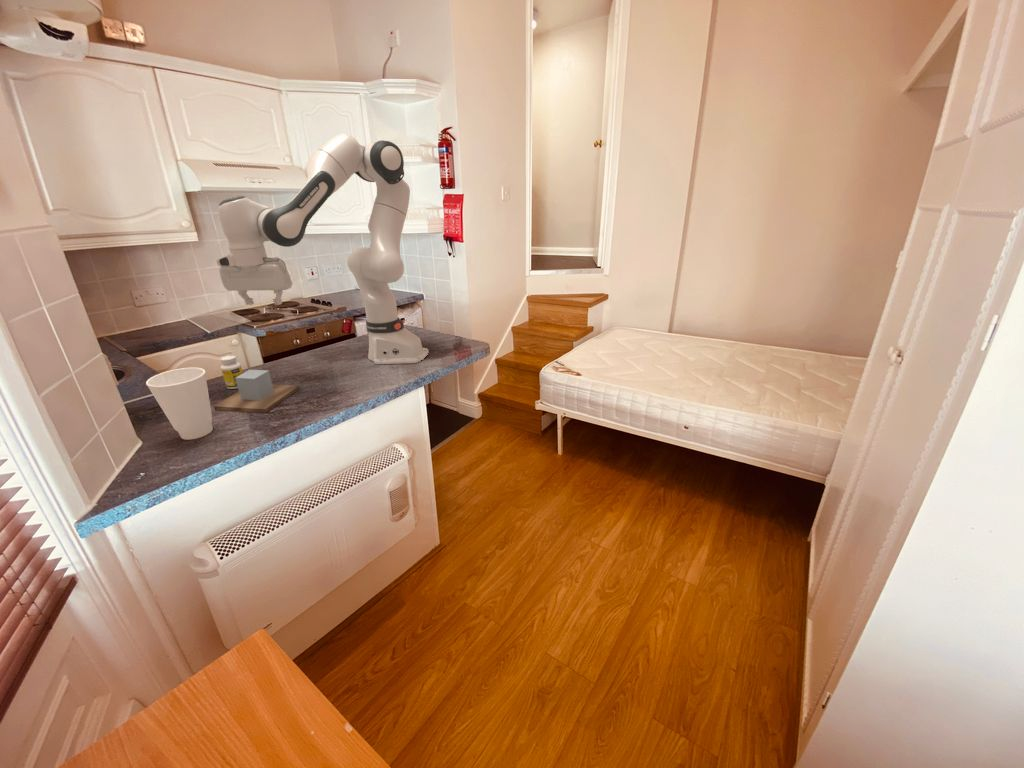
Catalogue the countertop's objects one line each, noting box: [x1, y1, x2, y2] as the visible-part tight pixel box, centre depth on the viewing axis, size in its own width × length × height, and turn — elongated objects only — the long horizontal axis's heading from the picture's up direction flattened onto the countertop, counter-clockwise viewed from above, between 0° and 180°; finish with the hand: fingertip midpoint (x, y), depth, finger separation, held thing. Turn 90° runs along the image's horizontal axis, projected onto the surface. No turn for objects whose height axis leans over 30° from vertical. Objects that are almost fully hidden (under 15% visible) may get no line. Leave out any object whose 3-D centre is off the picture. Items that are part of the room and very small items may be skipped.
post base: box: [213, 383, 300, 414], centre depth 126 cm, size 16×16×7 cm
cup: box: [145, 366, 214, 441], centre depth 107 cm, size 12×12×16 cm
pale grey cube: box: [235, 369, 274, 401], centre depth 126 cm, size 6×6×7 cm
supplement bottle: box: [220, 355, 244, 390], centre depth 135 cm, size 5×5×10 cm
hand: (264, 304), depth 129 cm, fingers open, 8 cm apart
